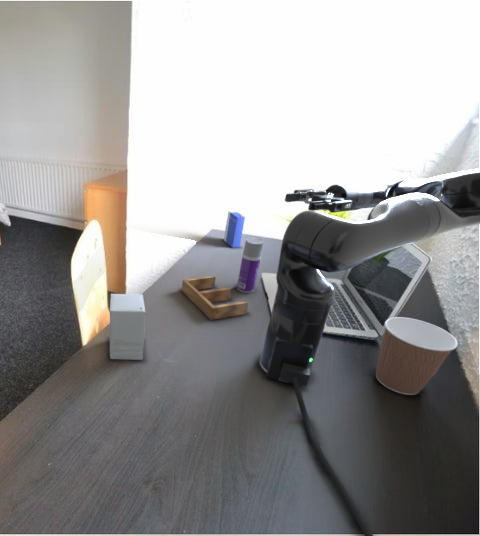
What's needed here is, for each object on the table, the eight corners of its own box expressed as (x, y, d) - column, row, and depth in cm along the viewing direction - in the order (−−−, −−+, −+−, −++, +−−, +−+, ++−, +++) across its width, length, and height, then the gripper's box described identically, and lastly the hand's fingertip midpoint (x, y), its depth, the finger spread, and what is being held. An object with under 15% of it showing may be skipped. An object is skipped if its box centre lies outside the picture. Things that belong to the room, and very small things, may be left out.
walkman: (239, 247, 136) (245, 216, 131) (232, 247, 136) (237, 216, 131) (230, 239, 143) (235, 209, 138) (223, 240, 143) (228, 209, 138)
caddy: (211, 320, 95) (213, 308, 93) (181, 290, 109) (182, 279, 107) (246, 314, 97) (248, 302, 95) (212, 286, 111) (213, 275, 109)
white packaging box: (141, 340, 87) (144, 293, 82) (142, 361, 81) (146, 311, 75) (109, 339, 88) (110, 292, 83) (108, 359, 82) (109, 310, 76)
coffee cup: (446, 402, 69) (475, 349, 64) (389, 402, 69) (413, 350, 64) (403, 364, 78) (425, 316, 73) (353, 365, 78) (372, 316, 73)
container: (255, 293, 106) (265, 244, 100) (238, 292, 107) (247, 243, 100) (252, 285, 110) (261, 238, 104) (235, 284, 111) (243, 237, 105)
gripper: (330, 178, 108) (281, 182, 105) (375, 189, 95) (322, 194, 92) (323, 203, 111) (276, 208, 108) (366, 217, 99) (314, 223, 95)
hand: (297, 202), depth 100 cm, fingers open, 8 cm apart
